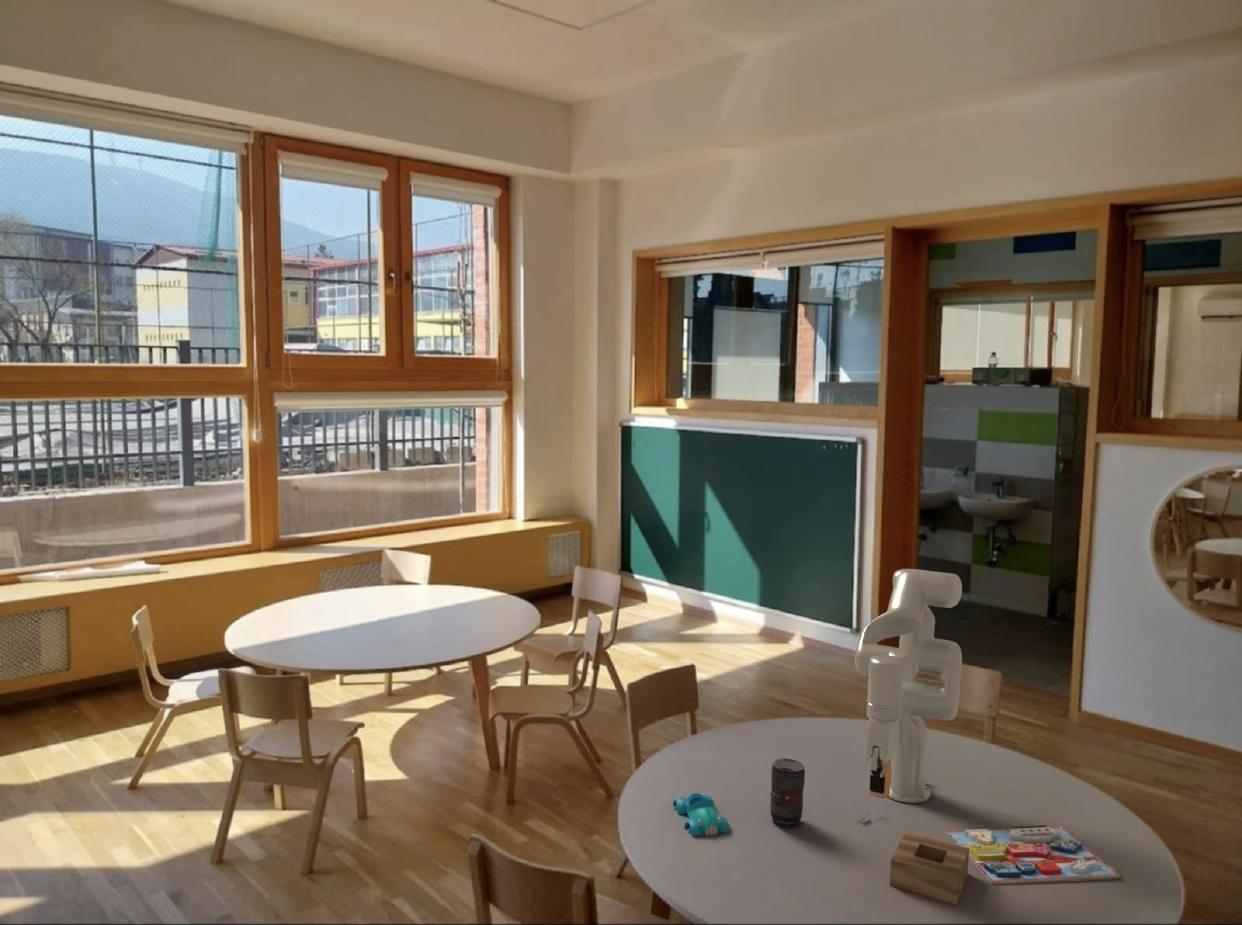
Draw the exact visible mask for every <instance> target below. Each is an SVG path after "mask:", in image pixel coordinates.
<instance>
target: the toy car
mask: <svg viewBox="0 0 1242 925" xmlns="http://www.w3.org/2000/svg"><path fill="white" fill-rule="evenodd" d="M672 803H673V804H672V805H673V806H672V807H673V809H674V811H676V812H677V813H678V814H679V815H680V814H681V815H687V816H688V819H687V820H686V821H685V822H684V826H683V827H684V829H686V830H687V832H688V834H690V835H691V836H692V837H700V836H702V835H704V836H709V835H710V836H711V835H718V834H719V833H722V834H724V833H728V832H729V830H730V824H729V821H728V820H727V818H726V817H725V816H724V815H720V814H718V812H717V811H716V809H715V801H714V800H713V798H712V797H711V796H709V795H707V794H704V793H699V792H697V793H692V794H691V795H689V796H688V797H687V798H686V797H684V796H681V795H677V797H676V798H675V799H674V800H673V802H672Z"/></svg>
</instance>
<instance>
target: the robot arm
mask: <svg viewBox="0 0 1242 925" xmlns="http://www.w3.org/2000/svg"><path fill="white" fill-rule="evenodd" d="M892 588H893V589H892V592H891V596H890V598H889V603H888V606H887V610H886V612H884V613H882V614H880V615H878V616H876V617H875V618H873V619H872V620H871V621H870V622H869V623H868V624H866V625H865V626H864V628H863V629H862V631H861V634H860V636H859V639H858V643H857V646H856V650H855V655H854V667H855V669H856V670H857V672H858V673H859V674H861V675H863V676H867V677H868V682H867V684H868V685H867V701H866V702H867V703H866V717H867V718H869V719H868V722H867V723H868V724H867V729H866V737H865V744H864V745H865V747H864V748H865V749H864V755H863V756H864V758H863V759H864V761H865V762H869V761H870V765H869V770H870V774H869V777H870V778H869V792H870V791H873V792H876V793H880V794H883V793H884V788H885V776H884V768H885V764H887V763H888V761H889V760H891V776H890V795H889V797H888V798H890V799H892V800H893V801H897V802H900V803H906V804H921V803H925V802H927V801H928V800H929V799H930V798H931V790H930V788H929V787H928V786H927V785H926V772H927V771H926V770H927V769H926V768H927V756H928V755H927V753H928V737H929V736H928V733H929V732H928V729H927V726H926V724H925V722H924V720H923V718H922V717H925V718H930V719H936V720H942V721H952V720H954V719H955V717H956V716H957V714H958V710H959V706H960V705H959V703H960V693H961V692H960V691H961V679H962V668H963V654H962V650H961V646H960V645H959V644H958V643H957V642H955V641H953V640H952V641H951V640H949V639H948V640H947V639H942V638H941V639H940V638H935V629H936V628H935V626H936V625H935V624H936V618H935V615H934V613H933V612H932V610H931V609H930V607H929V606H931V607H937V608H938V607H939V608H948V609H951V608H953V607H955V606H957V605H958V604H959V602H960V600H961V597H962V594H963V585H962V580H961V578H960V577H959V575H957V574H956V573H950V572H941V571H933V570H925V569H918V568H917V569H916V568H901V569H898V570H896V571H894V573H893V576H892ZM894 637H899V644H898V647H894V646H888V645H882V644H877V643H879V642H881V641H884V640H885V639H889V638H894ZM918 673H919V674H925V675H931V676H936V677H938V678H940V680H941V681H938V680H931V679H927V678H923V677H922V678H921V677H916V676H917V675H918ZM871 758H872V760H871ZM878 760H882V762H878ZM878 765H880V766H881V770H880V768H878Z"/></svg>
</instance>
